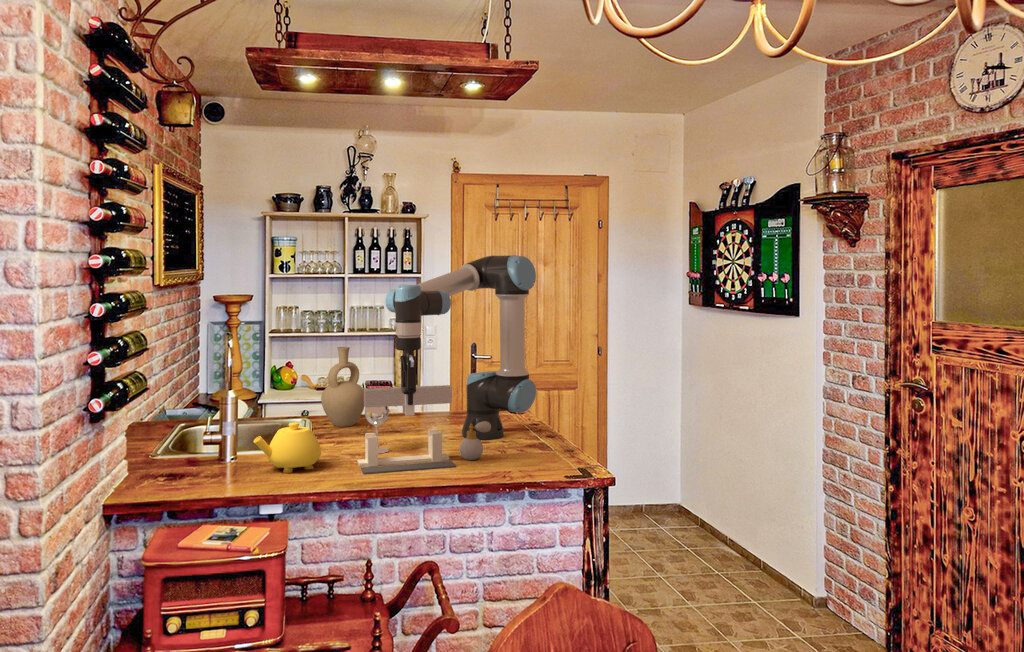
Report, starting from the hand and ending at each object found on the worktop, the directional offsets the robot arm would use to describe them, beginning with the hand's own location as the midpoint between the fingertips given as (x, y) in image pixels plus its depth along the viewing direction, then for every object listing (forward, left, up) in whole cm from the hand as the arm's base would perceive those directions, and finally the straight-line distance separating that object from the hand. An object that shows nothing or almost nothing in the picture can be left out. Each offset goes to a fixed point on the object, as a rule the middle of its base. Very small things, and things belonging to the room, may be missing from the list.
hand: (408, 413), depth 236 cm
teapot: (+35, -10, -17) cm, 40 cm away
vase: (+12, -70, -17) cm, 72 cm away
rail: (0, 0, +3) cm, 3 cm away
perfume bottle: (-22, -6, -17) cm, 28 cm away
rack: (0, -9, -17) cm, 19 cm away
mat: (0, 0, -17) cm, 17 cm away
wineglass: (+6, -25, -17) cm, 30 cm away
